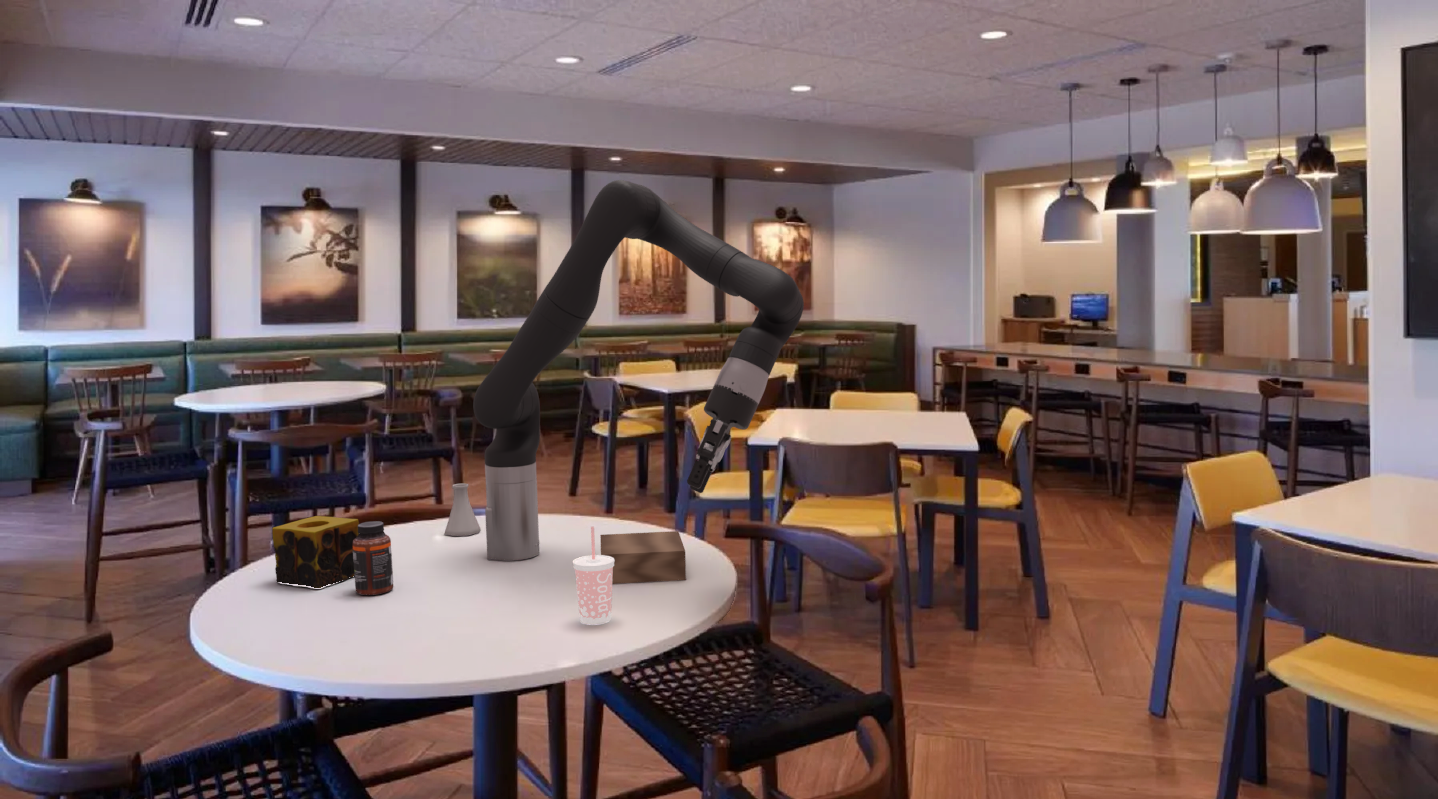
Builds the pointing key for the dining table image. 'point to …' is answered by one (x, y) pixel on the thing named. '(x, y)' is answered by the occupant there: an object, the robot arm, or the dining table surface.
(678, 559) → the walnut riser block
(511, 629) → the dining table surface
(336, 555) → the yellow tissue box cover
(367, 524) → the supplement bottle
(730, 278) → the robot arm
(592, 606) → the beverage cup
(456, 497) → the flask
